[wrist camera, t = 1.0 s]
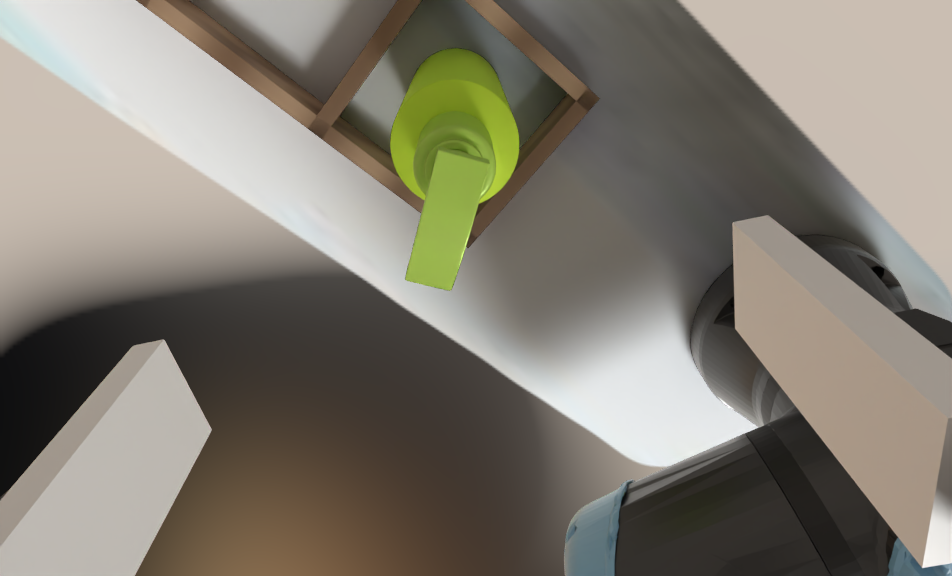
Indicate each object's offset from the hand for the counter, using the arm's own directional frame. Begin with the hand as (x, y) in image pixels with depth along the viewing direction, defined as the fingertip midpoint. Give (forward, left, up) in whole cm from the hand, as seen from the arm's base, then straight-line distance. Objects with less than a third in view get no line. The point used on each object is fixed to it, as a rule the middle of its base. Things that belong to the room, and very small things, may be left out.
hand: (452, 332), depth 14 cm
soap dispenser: (0, 0, -29) cm, 29 cm away
